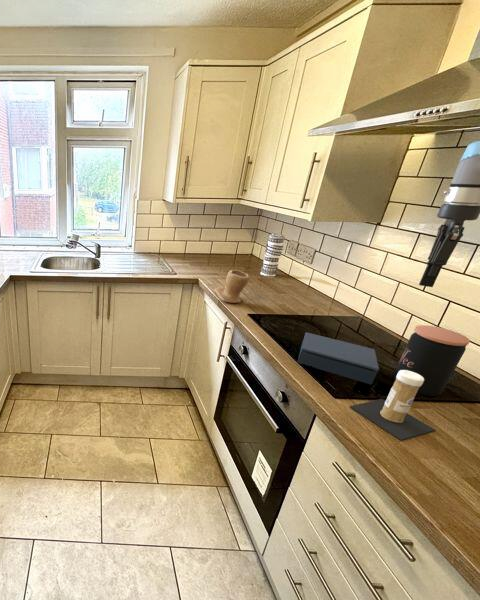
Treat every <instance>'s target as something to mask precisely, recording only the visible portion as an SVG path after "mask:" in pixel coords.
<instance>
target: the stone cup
mask: <svg viewBox="0 0 480 600" xmlns="http://www.w3.org/2000/svg"><path fill="white" fill-rule="evenodd" d="M249 281H250V275H249V274H248V273H246V272H244V271H242V270H239V269H231V270H229V271H228V273H227V275H226V277H225V287H216V288H214V292H215V293H216V295H217V296H218V297H219V298H220V300H222V301H223V302H225V303H230V304H231V303H232V304H240V303H241V302H242V299H241V297H240V294H241V293H242V291H243V290H244V289H245V288H246V286H247V284H248V283H249Z"/></svg>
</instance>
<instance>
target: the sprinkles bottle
mask: <svg viewBox="0 0 480 600" xmlns="http://www.w3.org/2000/svg"><path fill="white" fill-rule="evenodd" d="M423 382H424V378H423V377H422V376H421V375H419V374H417V373H415V372H412V371H408V370H400V371H399V372H398V374H397V376H396V381H395V380H394V382H393V385H392V387H391V388H390V390H389V393H388V395H387V397H386V399H385V404H384V407H383V409H382V410H381V411H380V414H381V415H382V417H384V418H385V419H387V420H389V421H391V422H395V423H402V422H403V419H404V417H405V415H406V413H408V412H409V410H410V408H411V406H412V404H413V402H414V400H415V398H416V395H417V391H418V389H419V387H420V386H421V385H422V384H423Z"/></svg>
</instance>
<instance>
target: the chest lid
mask: <svg viewBox="0 0 480 600" xmlns="http://www.w3.org/2000/svg"><path fill="white" fill-rule="evenodd" d="M304 336H305V337H303V339H304V341H303V340H302V342H303V345H302V344H301V346H302V349H301V348H300V350H303V351H307V352H310V353H314V354H318V355H321V356H325V357H329V358H332V359H336V360H339V361H343V362H347V363H350V364H354V365H357V366H361V367H365V368H368V369H372V370H376V371H377V372H379V371H380V366H379V363H378V358H377V354H376V350H375V348H371V347H367V346H363V345H359V344H355V343H352V342H347V341H343V340H339V339H335V338H331V337H327V336H323V335H319V334H315V333H310V332H308V331H307V332H306V331H305V333H304Z"/></svg>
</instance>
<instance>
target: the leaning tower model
mask: <svg viewBox="0 0 480 600" xmlns="http://www.w3.org/2000/svg"><path fill="white" fill-rule="evenodd" d="M268 236H269V238H268V241H267V243H266V244H265V245H266V247H265V251H264V252H265V253H264V260H263V262H262V265H261V266H262V267H261V269H260V275H262V276H265V277H276V274H277V272H278V268H279V267H278V266H279V260H280V258H281V256H282V251H283V250H284V249H283V248H284V239H285V238H286V236H285V237H284V235H283V234H281V233H272V234H270V235H268Z"/></svg>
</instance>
